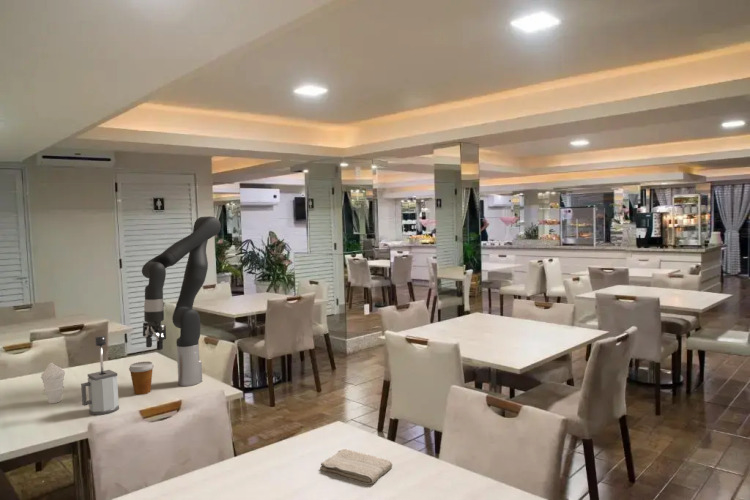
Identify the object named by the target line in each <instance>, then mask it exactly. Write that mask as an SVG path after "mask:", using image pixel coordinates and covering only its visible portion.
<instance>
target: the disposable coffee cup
mask: <svg viewBox="0 0 750 500" xmlns="http://www.w3.org/2000/svg"><path fill="white" fill-rule="evenodd" d="M153 368H154V364H153V362H151V361H138V362H134V363H131V364H130V365H129V368H128V370H129V372H130V376H131V377H130V378H131V381H132V386H133V388H132V389H133V393H134V395H137V396H140V395H142V396H143V395H146V394H149V393H151V391H152V378H153Z"/></svg>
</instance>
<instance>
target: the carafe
mask: <svg viewBox="0 0 750 500" xmlns="http://www.w3.org/2000/svg"><path fill="white" fill-rule="evenodd" d="M118 383H119V382H118V372H116V371H113V370H111V369H106V370H104V374H103V375H101V371H96V372H92V373H87V382H83V383H80V387H81V389H80V390H81V403H82V406H84V407H85V406H87V405H88V407H89V408H88V409H89V414H90V415H92V416H102V415H108V414H113V413H115V412H117V411H118V410H119V409H120V407H119V406H120V404H119V387H118V385H119V384H118ZM87 390H88V391H87ZM87 392H88V400H87Z"/></svg>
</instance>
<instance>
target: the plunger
mask: <svg viewBox="0 0 750 500" xmlns="http://www.w3.org/2000/svg"><path fill="white" fill-rule="evenodd" d="M106 340H107V339H106V336H105V335H98V336H95V346H99V360H100V361H99V362H100V363H99V364H100V372H101V375H103V374H104V371H105V370H104V356H103V355H104V353H103V346H105V345H107V343H106V342H107V341H106Z"/></svg>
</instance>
